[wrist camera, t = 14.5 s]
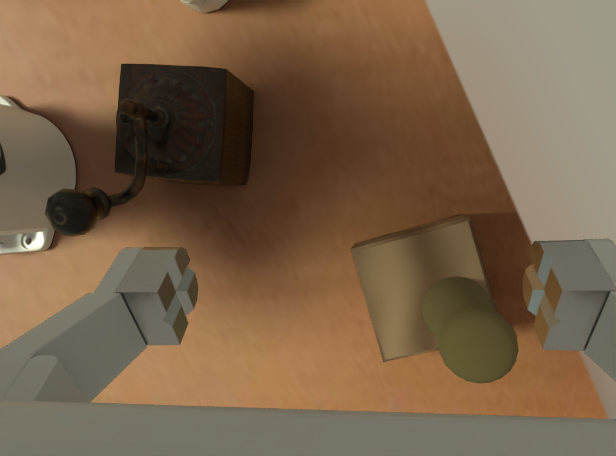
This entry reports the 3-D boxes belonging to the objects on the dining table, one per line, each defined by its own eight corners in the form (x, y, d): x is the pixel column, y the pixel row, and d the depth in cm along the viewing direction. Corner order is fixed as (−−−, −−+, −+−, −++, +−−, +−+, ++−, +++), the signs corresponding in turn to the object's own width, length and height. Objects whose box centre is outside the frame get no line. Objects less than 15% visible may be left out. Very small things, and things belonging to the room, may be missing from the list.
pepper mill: (160, 85, 51) (40, 23, 33) (256, 89, 49) (183, 26, 31) (152, 224, 52) (32, 236, 34) (246, 233, 50) (169, 250, 32)
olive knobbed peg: (502, 289, 40) (545, 326, 29) (477, 352, 41) (511, 410, 30) (435, 267, 41) (453, 294, 30) (412, 329, 42) (422, 377, 31)
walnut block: (383, 343, 48) (383, 363, 42) (354, 243, 48) (350, 249, 42) (489, 318, 46) (504, 336, 40) (459, 214, 46) (470, 216, 40)
